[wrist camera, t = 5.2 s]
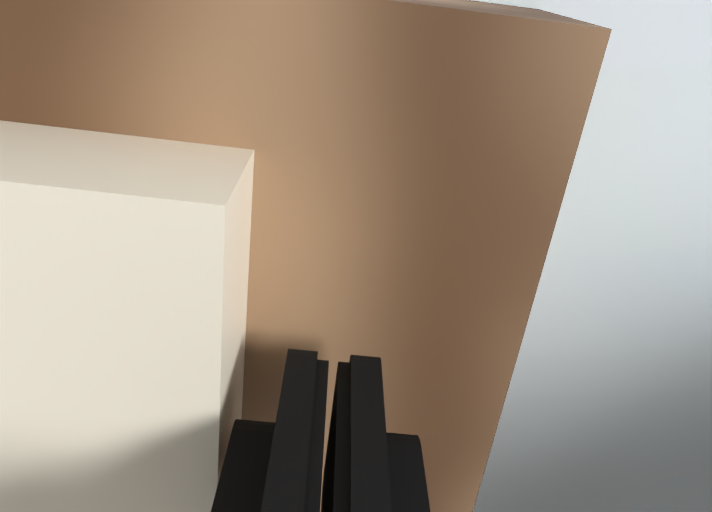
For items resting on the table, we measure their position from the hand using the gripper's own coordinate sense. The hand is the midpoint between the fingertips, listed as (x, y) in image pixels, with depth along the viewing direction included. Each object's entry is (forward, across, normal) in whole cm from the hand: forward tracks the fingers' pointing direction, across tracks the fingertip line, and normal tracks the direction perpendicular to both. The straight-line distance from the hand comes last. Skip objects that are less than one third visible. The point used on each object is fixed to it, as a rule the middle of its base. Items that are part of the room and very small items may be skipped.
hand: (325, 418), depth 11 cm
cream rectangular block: (+1, +5, 0) cm, 5 cm away
